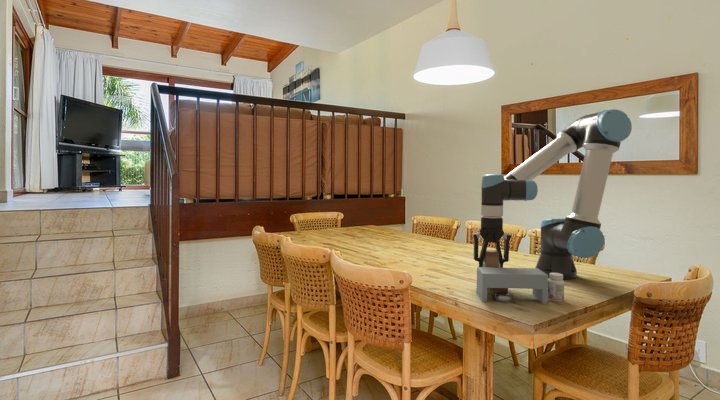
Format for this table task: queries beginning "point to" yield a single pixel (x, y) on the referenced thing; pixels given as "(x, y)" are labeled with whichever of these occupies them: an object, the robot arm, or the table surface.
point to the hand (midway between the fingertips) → (490, 280)
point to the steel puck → (503, 297)
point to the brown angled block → (493, 261)
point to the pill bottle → (556, 287)
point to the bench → (512, 280)
